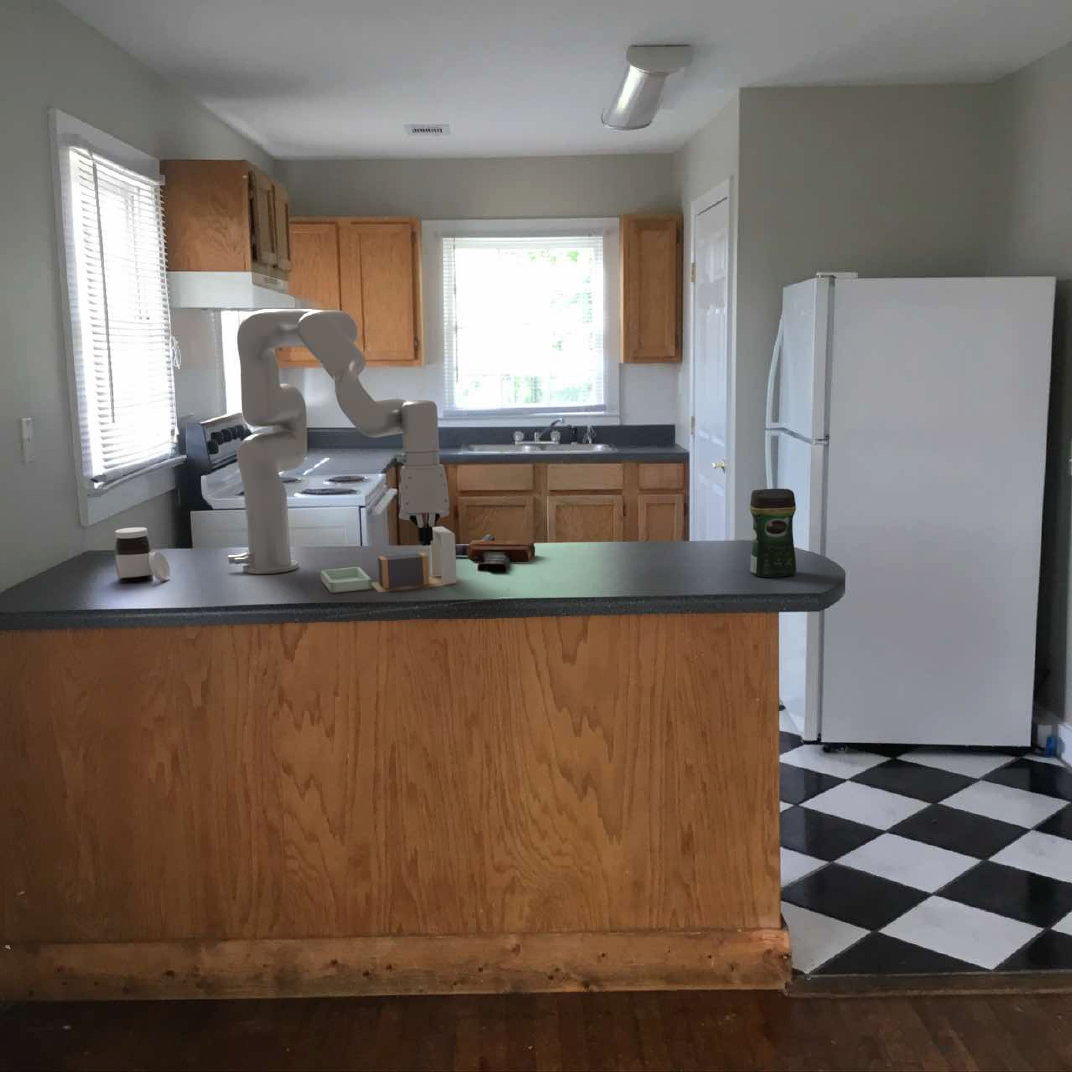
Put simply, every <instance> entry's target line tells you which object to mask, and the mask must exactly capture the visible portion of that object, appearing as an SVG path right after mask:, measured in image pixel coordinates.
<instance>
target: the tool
mask: <svg viewBox="0 0 1072 1072" xmlns="http://www.w3.org/2000/svg"><path fill="white" fill-rule="evenodd" d="M455 553H456V557H458V556H459V557H461V556H462V557H464V556H465V557H466V556H467V558H468V559H469V561H471V562H473V563H478V565H477V567H476V568H477V571H486V572H488V573H489V572H492V573H496V574H497V573H498V574H507V573H508V568H509V566H510V565H511V563H510V562H527V561H530V560H529V559H531V560H533V559H532V557H533V558H534V557H535V555H536V546H535V541H534V540H496V539H495V537H494V535H493V534H491V533H489V534H486V535H485V536H484V537H482V539H481V540H471V541H470V543H469V544H455ZM527 563H528V562H527Z"/></svg>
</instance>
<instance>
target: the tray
mask: <svg viewBox="0 0 1072 1072" xmlns="http://www.w3.org/2000/svg"><path fill="white" fill-rule="evenodd" d="M319 573H320V581H321V582H322V583H323V584H324V586H325V587H326V588H327V590H328V591H329V592H330V593H331V594H334V593H335V594H336V593H343V592H345V593H346V592H353V591H363V590H364V591H365V590H372V589H373V586H372V582H373V581H372V580H373V579H372V578H371V577H370V576H369V575H368V574H367V573H366V572H365V571H364V570H363V569H362V568H361V567H360V566H352V567H342V568H334V569H333V568H332V569H330V568H329V569H321V570H320V571H319Z"/></svg>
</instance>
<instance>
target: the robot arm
mask: <svg viewBox="0 0 1072 1072" xmlns="http://www.w3.org/2000/svg"><path fill="white" fill-rule="evenodd" d="M357 335H358V328H357V324H356V322H355V320H354V319H353V318H352V316H351V315H350V314H348V313H347V312H346V311H343V310H338V309H337V310H336V309H332V310H329V309H328V310H327V309H325V310H324V309H323V310H322V309H302V308H301V309H300V308H298V309H297V308H288V309H287V308H270V309H260V310H259V309H258V310H257V311H254V312H251V313H250V314H248V315H247V316H246V317H244V319H243V320H242V321H241V323H240V324H239V327H238V330H237V334H236V336H237V337H236V343H237V351H238V357H239V363H240V365H239V366H240V391H241V393H240V396H241V412H242V418H243V420H244V421H245V423H246V424H247V425H248V426H251V427H254V428H271V427H272V431H269V432H268V431H267V432H261V433H256V434H255V433H254V434H251V435H248V436H247V437H245V438H244V439H242V440H241V442H240V443H239V445H238V447H237V450H236V461H237V466H238V469H239V472H240V476H241V481H242V487H243V496H244V497H243V498H244V508H245V520H246V532H247V549H245V552H242V553H241V554H232V555H227V556H228V557H227V558H228V564H229V565H231V564H235V565H241V564H243V565H242V571H243V572H244V573H246V574H252V575H271V574H282V573H286V572H291V571H294V570H296V569H298V567H299V562H298V561H297V560H295V559H292V556H291V555H292V554H291V553H292V552H291V541H290V540H291V538H290V529H289V528H290V527H289V511H288V495H287V491H286V487H285V484H284V482H283V480H282V478H281V476H280V474H279V473H283V472H287V471H293V470H297V469H298V468H300V467H301V466H302V465H303V464H304V462H305V461H306V459H307V452H308V431H307V430H308V429H307V427H308V426H307V425H308V423H307V407H306V401H305V399H304V396H303V394H302V392H301V391H300V390H299V388H297V387H296V386H294V385H292V384H289V383H280V367H279V363H278V360H277V357H276V356H275V354H274V352H273V349H277V348H279V349H280V348H307V350H308V351H309V352H310V354H311V355H312V356H313V357H314V359H316V361H317V362H318V363H319V364H320V366H321V367H322V368H323V369H324V370H325V371H326V373H327V374H328V375H329V377H330V378H331V379H332V380H333V383H334V392H335V397H336V401H337V404H338V405H339V407H340V410H341V411H342V413H343V414H344V415H345V416H346V418H347V419H348V420H349V421H350V422H351V424H352V425H353V426H354V427H355V428H356V429H357V431H359V432H360V433H361V434H363V435H365V437H366V436H367V437H370V438H380V437H385V436H393V435H395V436H396V435H399V434H402V448H403V449H402V453H401V454H400V455H397V456H396V461H397V462H398V463H402V464H403V465H402V466H401V467H400V471H399V472H400V474H399V482H398V484H399V485H398V486H399V487H398V505H399V514H398V517H399V519H400V520H405V521H410V522H412V524H414V525H415V526H416V529H417V531H416V532H417V542H419V544H420V545H421V546H423V547H426V546H428V547H430V545H431V541H433V527H435V524H436V522H438V521H439V520H440V519H442V518H444V517H447V516H449V515H450V511H449V508H450V497H449V496H450V495H449V488H448V479H447V474H446V470H445V466H444V464H441V463H440V445H439V442H440V441H439V421H438V419H439V418H438V416H439V415H438V407H437V404H436V402H435V401H433V400H420V399H419V400H407V399H401V398H392V399H382V400H375V399H374V398H372V396H371V395H370V394H369V393H368V392H367V390H366V389H365V388H364V386H363V385H362V383H361V381H360V378H359V376H360V375H361V373H362V372H363V371H364V370H365V367H366V364H367V359H366V356H365V355H364V354H363V352H362V351H361V350H360V349H359V348H358V346H357V345H356V343H355V341H356V339H357ZM424 514H426V518H425V523H424V519H423V515H424Z"/></svg>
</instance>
